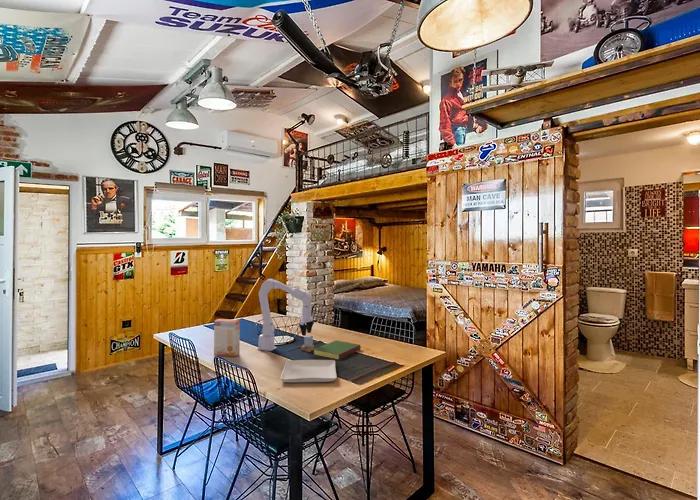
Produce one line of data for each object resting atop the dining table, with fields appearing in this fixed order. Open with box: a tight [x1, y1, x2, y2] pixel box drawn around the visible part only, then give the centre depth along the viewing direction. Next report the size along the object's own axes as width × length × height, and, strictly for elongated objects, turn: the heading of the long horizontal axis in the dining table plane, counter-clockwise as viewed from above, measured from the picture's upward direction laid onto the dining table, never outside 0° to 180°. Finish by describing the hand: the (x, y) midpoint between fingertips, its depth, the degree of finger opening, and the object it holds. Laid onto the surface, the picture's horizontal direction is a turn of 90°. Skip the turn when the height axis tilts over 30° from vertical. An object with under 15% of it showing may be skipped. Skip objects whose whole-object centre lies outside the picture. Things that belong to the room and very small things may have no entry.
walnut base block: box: [300, 344, 315, 353], centre depth 238 cm, size 6×6×3 cm
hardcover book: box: [313, 340, 361, 361], centre depth 235 cm, size 25×19×4 cm
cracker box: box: [213, 318, 241, 358], centre depth 227 cm, size 14×6×21 cm, turn 74°
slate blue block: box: [303, 334, 314, 347], centre depth 238 cm, size 4×4×6 cm
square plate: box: [279, 359, 338, 383], centre depth 195 cm, size 27×27×4 cm
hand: (306, 334), depth 239 cm, fingers open, 7 cm apart
